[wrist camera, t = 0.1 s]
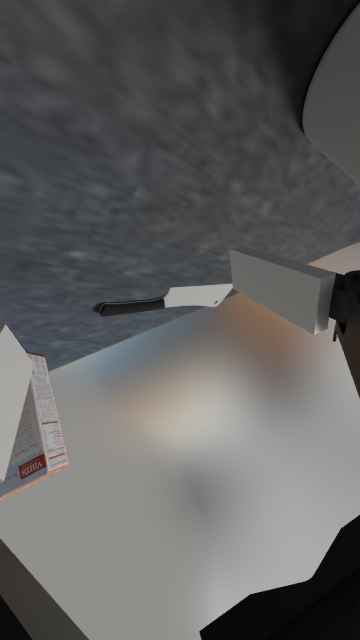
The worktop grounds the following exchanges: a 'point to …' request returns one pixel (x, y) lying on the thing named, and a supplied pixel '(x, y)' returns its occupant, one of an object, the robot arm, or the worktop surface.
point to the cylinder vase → (337, 100)
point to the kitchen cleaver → (171, 300)
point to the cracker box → (36, 435)
